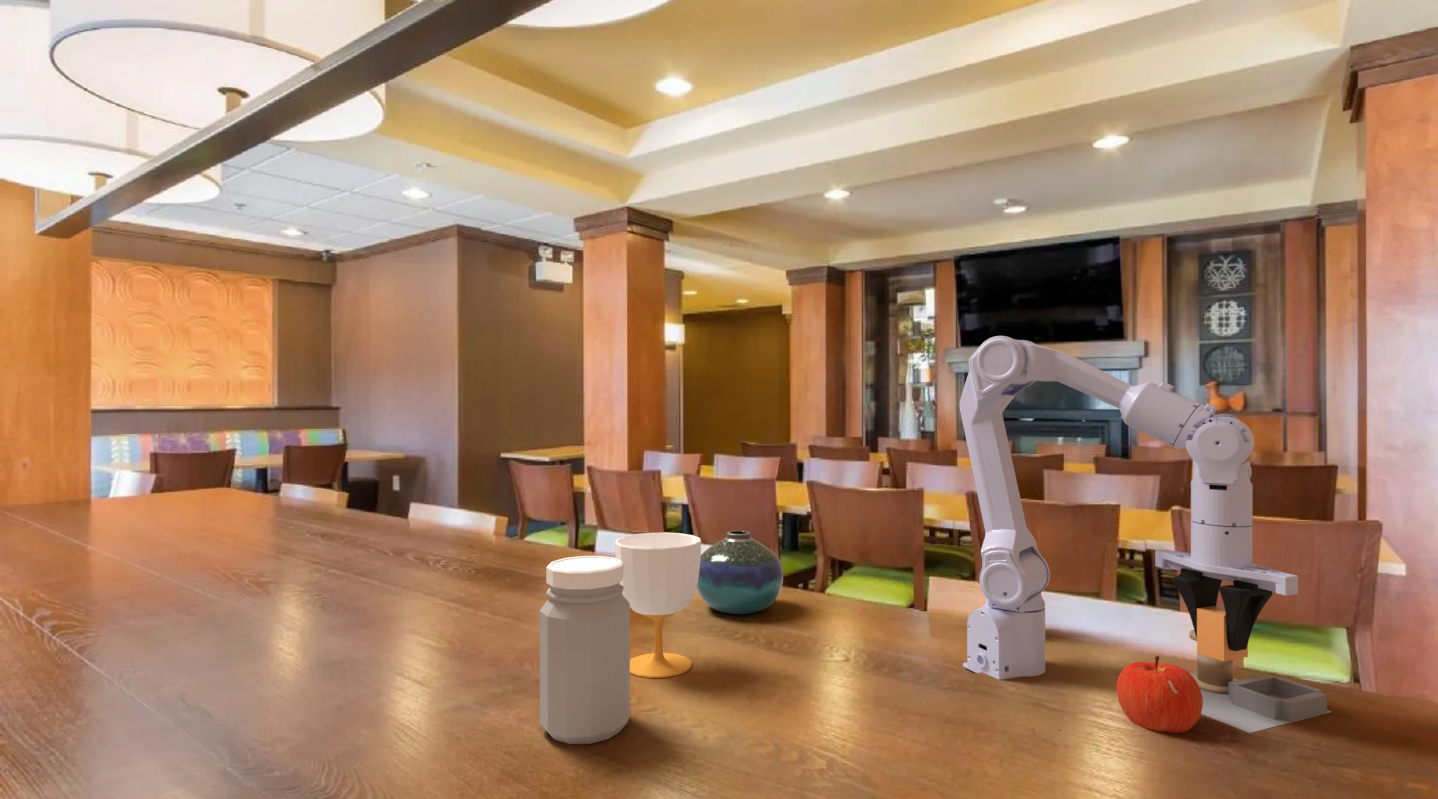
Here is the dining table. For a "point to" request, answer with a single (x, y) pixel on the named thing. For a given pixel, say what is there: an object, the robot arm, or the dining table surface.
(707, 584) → the vase
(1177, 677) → the apple
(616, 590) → the jar
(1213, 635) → the block
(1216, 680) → the knob
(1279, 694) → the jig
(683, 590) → the cup
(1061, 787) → the dining table surface
